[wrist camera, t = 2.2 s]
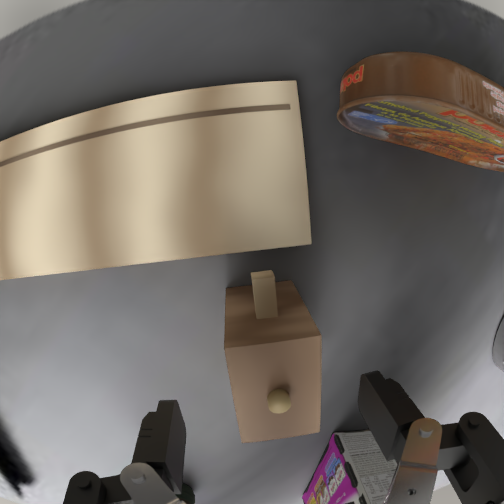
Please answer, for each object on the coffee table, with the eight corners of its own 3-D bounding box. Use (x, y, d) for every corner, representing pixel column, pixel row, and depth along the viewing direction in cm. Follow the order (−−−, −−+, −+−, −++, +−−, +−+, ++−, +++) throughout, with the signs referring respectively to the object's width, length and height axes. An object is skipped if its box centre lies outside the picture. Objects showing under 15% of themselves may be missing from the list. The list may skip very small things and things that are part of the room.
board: (290, 87, 17) (296, 80, 15) (305, 238, 19) (311, 244, 17) (-19, 156, 16) (-32, 156, 14) (-1, 275, 18) (-12, 281, 16)
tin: (317, 127, 17) (381, 98, 9) (321, 78, 17) (382, 23, 8) (494, 174, 19) (576, 186, 10) (496, 136, 18) (577, 136, 10)
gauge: (289, 248, 19) (324, 296, 12) (296, 383, 21) (320, 461, 14) (221, 256, 19) (216, 310, 11) (241, 390, 21) (246, 472, 14)
